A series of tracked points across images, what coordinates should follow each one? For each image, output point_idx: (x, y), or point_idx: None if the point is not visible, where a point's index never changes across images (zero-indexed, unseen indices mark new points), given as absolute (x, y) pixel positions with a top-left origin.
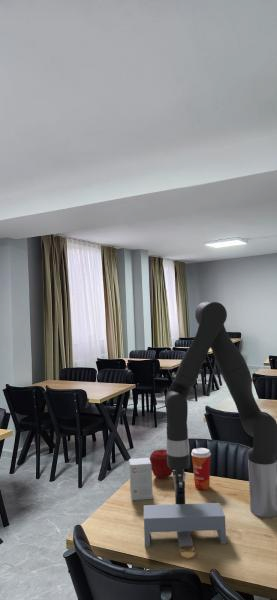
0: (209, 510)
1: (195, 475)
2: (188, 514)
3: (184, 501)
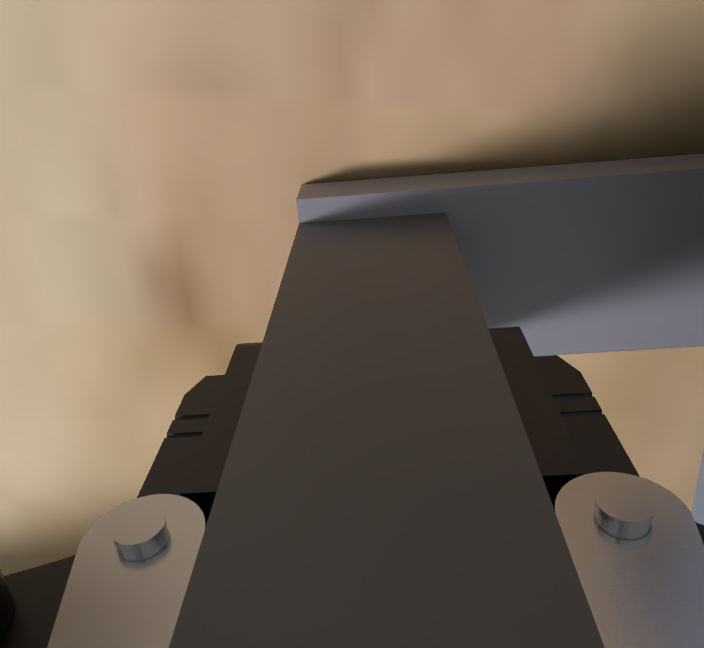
0: None
1: None
2: None
3: (493, 354)
